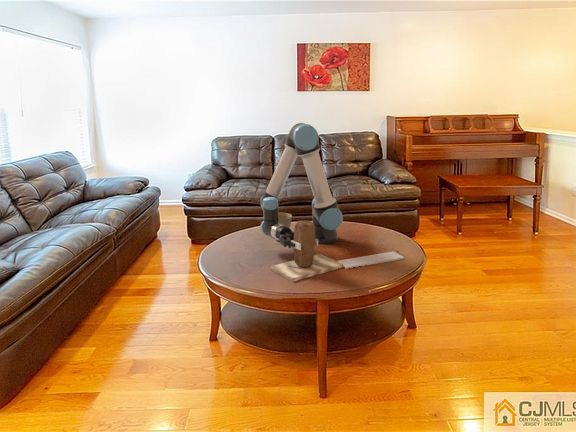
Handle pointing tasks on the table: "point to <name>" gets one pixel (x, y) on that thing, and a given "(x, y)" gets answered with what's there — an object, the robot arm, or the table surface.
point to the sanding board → (306, 268)
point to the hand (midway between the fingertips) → (309, 244)
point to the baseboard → (370, 259)
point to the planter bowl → (284, 219)
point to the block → (304, 243)
